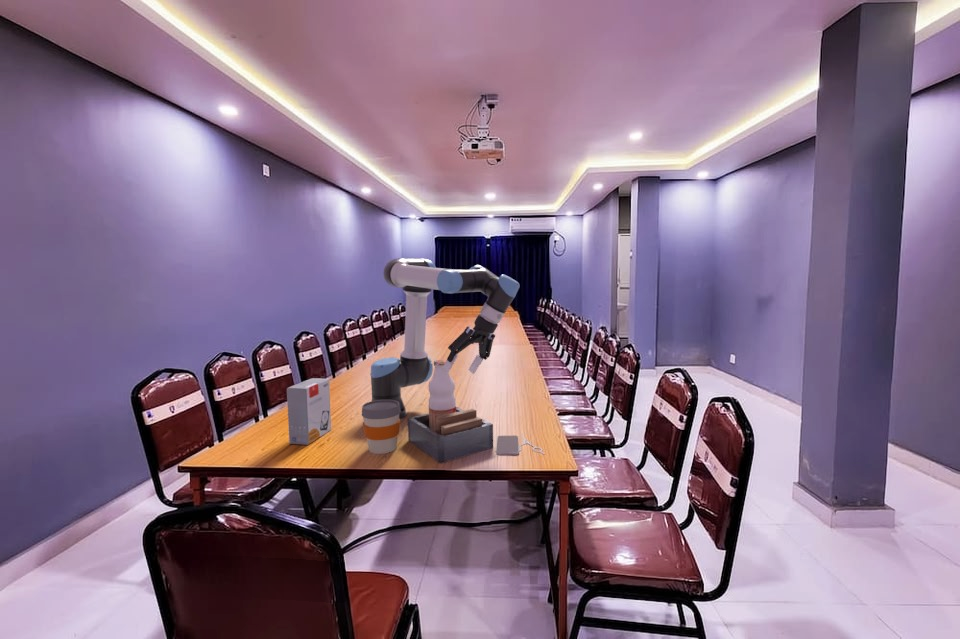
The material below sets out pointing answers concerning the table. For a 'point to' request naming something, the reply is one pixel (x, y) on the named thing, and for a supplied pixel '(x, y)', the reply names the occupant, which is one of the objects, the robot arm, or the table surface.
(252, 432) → the table surface
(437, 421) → the offcut board tall
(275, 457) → the table surface
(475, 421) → the offcut board short
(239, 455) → the table surface
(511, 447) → the smartphone
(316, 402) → the hard drive box
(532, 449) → the scissors
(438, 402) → the fruit juice
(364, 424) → the reusable coffee cup
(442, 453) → the bin
